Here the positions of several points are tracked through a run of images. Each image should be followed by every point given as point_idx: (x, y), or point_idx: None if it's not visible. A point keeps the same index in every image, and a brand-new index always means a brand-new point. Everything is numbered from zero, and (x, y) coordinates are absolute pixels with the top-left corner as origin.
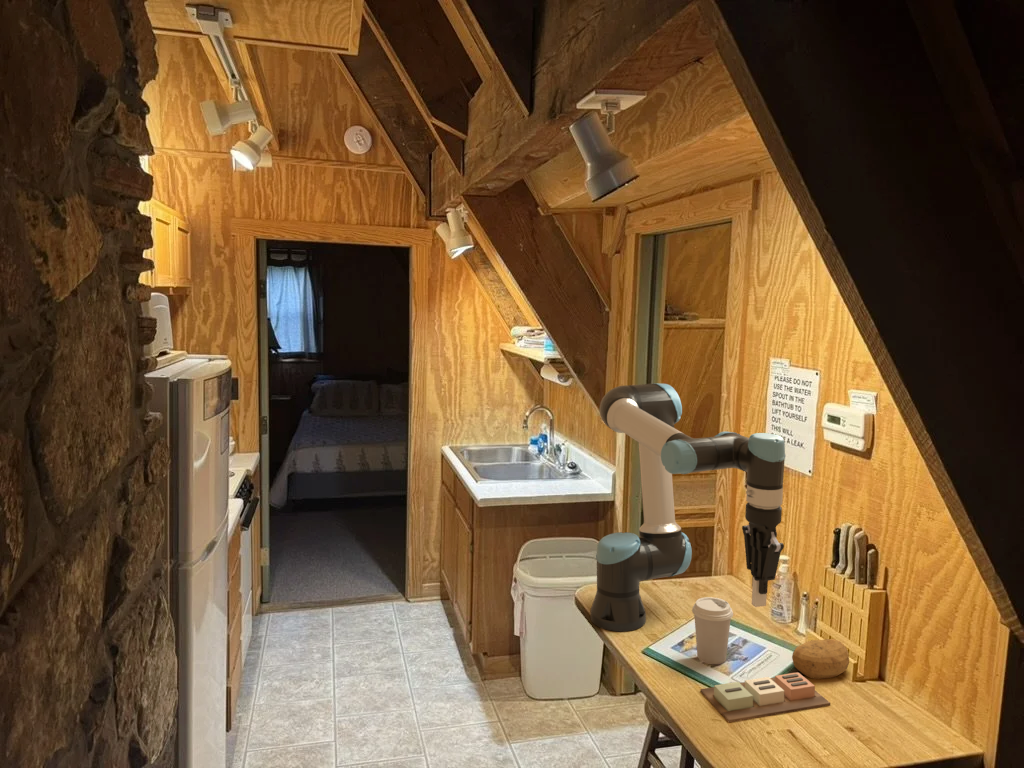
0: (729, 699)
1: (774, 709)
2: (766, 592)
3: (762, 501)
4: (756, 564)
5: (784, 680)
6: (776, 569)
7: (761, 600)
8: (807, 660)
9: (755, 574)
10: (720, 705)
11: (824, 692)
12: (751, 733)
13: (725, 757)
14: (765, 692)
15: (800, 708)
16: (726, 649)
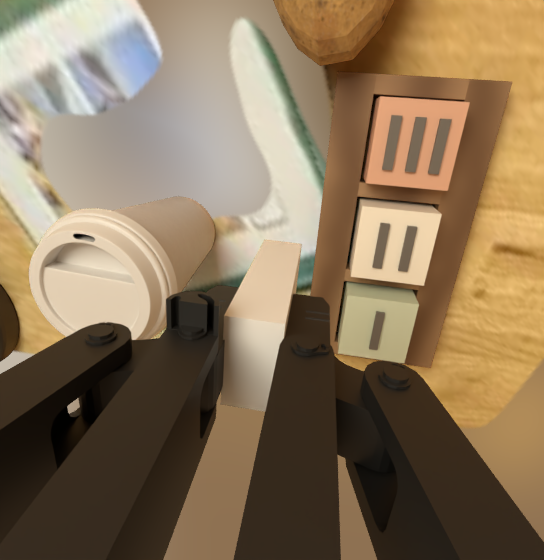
0: (404, 360)
1: (450, 254)
2: (326, 307)
3: None
4: (186, 479)
5: (398, 174)
6: (504, 496)
7: (295, 286)
8: (368, 31)
9: (216, 398)
10: None
11: (418, 20)
12: (461, 326)
13: (493, 411)
14: (422, 266)
15: (481, 187)
16: (193, 220)
